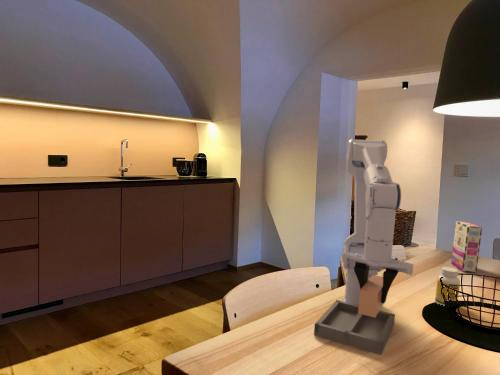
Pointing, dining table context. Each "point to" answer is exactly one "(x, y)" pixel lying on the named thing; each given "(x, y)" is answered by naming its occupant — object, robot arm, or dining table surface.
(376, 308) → the tan rectangular block
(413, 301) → the dining table surface
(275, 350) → the dining table surface
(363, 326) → the grey divided tray
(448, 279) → the supplement bottle
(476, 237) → the candy bar box
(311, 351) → the dining table surface
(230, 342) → the dining table surface
